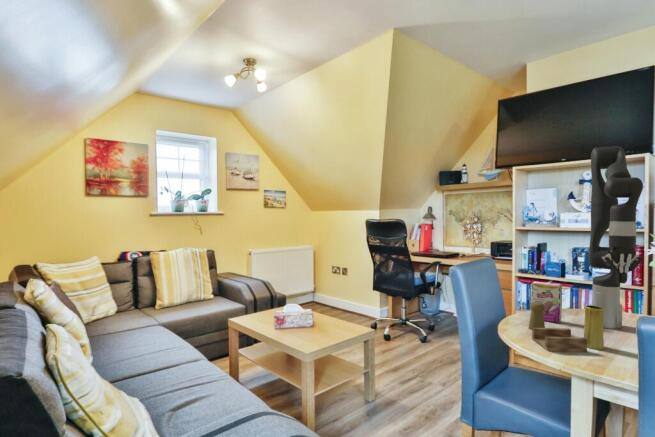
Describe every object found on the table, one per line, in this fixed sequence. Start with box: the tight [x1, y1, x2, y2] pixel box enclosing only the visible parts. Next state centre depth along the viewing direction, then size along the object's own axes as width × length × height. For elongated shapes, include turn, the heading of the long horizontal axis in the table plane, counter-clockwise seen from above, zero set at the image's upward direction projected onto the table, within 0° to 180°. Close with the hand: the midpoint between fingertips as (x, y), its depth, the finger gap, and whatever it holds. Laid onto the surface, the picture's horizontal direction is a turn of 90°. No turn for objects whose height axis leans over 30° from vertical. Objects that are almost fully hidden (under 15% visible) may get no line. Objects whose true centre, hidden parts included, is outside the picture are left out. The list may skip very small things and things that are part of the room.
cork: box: [528, 302, 546, 331], centre depth 148 cm, size 6×6×11 cm
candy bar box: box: [530, 281, 563, 324], centre depth 160 cm, size 11×5×16 cm, turn 49°
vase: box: [583, 304, 605, 351], centre depth 130 cm, size 6×6×14 cm
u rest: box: [531, 327, 588, 353], centre depth 131 cm, size 13×11×4 cm
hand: (621, 283), depth 128 cm, fingers closed
